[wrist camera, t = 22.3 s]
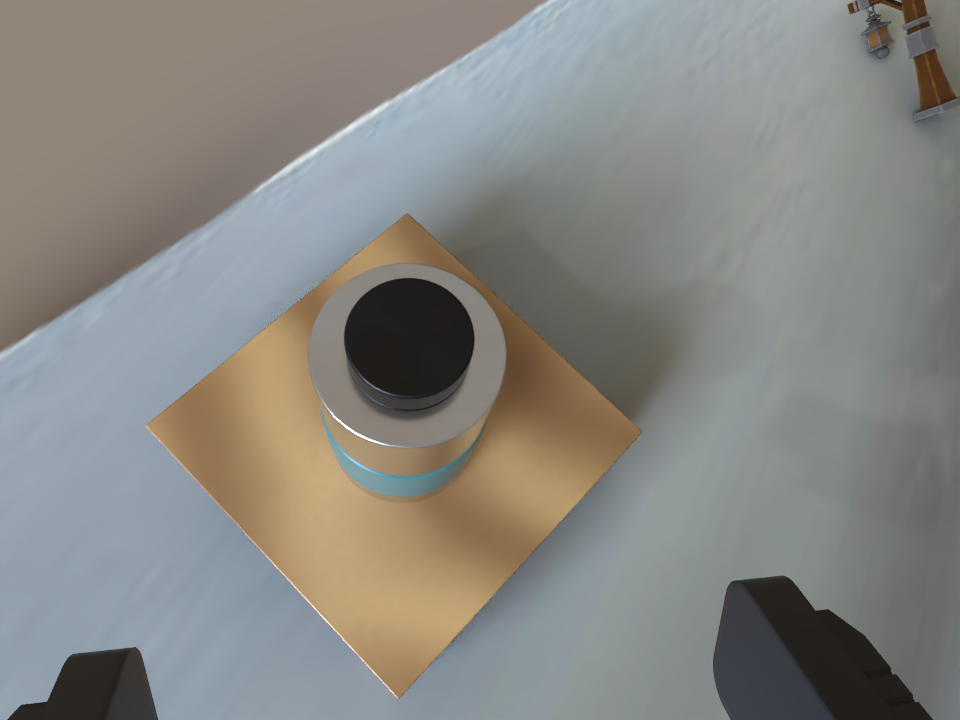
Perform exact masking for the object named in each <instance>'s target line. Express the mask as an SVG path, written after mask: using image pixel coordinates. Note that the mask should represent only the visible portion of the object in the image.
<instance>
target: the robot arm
mask: <svg viewBox="0 0 960 720" xmlns="http://www.w3.org/2000/svg"><path fill="white" fill-rule="evenodd" d="M713 671H714V678H715V683H716V687H717V691H718V694H719V697H720V699H721V702H722V704H723V706H724V708H725V710H726V712H727V714H728V716H729V717H730V719H731V720H933V719H932V718H931V717H930V715H929V714H928V713H927V712H926V711H925V709H924V708H923V707H922V706H921V704H920V703H919V702H915V701H914V700H913V695H912V693H911V692H910V691H909V690H908V688H907V687H906V686H905V685H904V684H903V682H902V681H901V680H900V679H899V677H898V676H897V675H896V674H895V675H893V674H892V673H891V668H890V666H889V665H888V664H887V663H886V661H885V660H884V659H883V658H882V656H881V655H880V654H879V653H878V652H877V650H876V649H875V648H874V647H873V645H872V644H871V643H870V642H869V640H868V639H867V638H866V637H865V636H864V635H863V634H862V633H860V632H859V631H858V630H856V629H855V628H853V627H852V626H851V625H849V624H848V623H847V622H845V621H844V620H842V619H841V618H840V617H838V616H837V615H836V614H834V613H833V612H831V611H830V610H829V609H827V610H818V611H815V609H814V608H813V607H812V605H811V604H810V603H809V602H808V600H807V599H806V598H805V596H804V595H803V594H802V592H801V591H800V590H799V588H798V587H797V586H796V585H795V584H794V582H793V581H792V580H790V579H789V578H788V577H786V576H774V577H765V578H756V579H746V580H737V581H732V582H731V583H730V584H729V586H728V588H727V591H726V595H725V601H724V606H723V611H722V616H721V621H720V626H719V631H718V636H717V642H716V647H715V652H714V658H713ZM8 720H158V717H157V713H156V709H155V705H154V701H153V698H152V694H151V690H150V686H149V682H148V678H147V674H146V670H145V666H144V662H143V659H142V656H141V653H140V651H139V650H138V649H137V648H136V647H133V648H124V649H115V650H106V651H96V652H87V653H78V654H73V655H71V656H70V657H69V658H68V659H67V660H66V662H65V663H64V665H63V667H62V669H61V672H60V674H59V676H58V678H57V681H56V683H55V685H54V688H53V690H52V692H51V694H50V697H49V699H48V701H47V702H42V703H33V704H25V705H21V706H20V707H19V708H18V709H17V710H16V711H15V712H14V713H13V714H12V715H11V716H10V717H9V719H8Z"/></svg>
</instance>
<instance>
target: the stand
mask: <svg viewBox="0 0 960 720" xmlns="http://www.w3.org/2000/svg"><path fill="white" fill-rule="evenodd" d="M396 263H417V264H425V265H429V266H434V267H437V268H440V269H443V270H446V271H448V272H450V273H452V274H454V275H457V276H458V277H460V278H462V279H463V280H465V281H466V282H468V283H469V284H470V285H471V286H473V287H474V288H475V289H476V290H477V291H478V292H479V293H480V294H481V295H482V296H483V297H484V298H485V299H486V300H487V302H488V303H489V304H490V306H491V307H492V309H493V310H494V312H495V314H496V316H497V317H498V319H499V322H500V324H501V327H502V329H503V333H504V337H505V341H506V350H507V366H506V372H505V377H504V381H503V384H502V387H501V390H500V392H499V394H498V396H497V398H496V401H495V403H494V405H493V407H492V409H491V411H490V414H489V417H488V420H487V423H486V426H485V429H484V431H483V433H482V435H481V437H480V439H479V441H478V443H477V446H476V448H475V450H474V452H473V454H472V456H471V458H470V460H469V461H468V463H467V464H466V466H465V467H464V469H463V470H462V472H461V473H460V475H459V476H458V477H457V478H456V479H455V481H454V482H453V483H452V484H450V485H449V486H448V487H447V488H446V489H444V490H443V491H441V492H440V493H438V494H436V495H434V496H432V497H430V498H427V499H424V500H421V501H416V502H409V503H395V502H388V501H383V500H380V499H378V498H375V497H373V496H370V495H368V494H366V493H365V492H363V491H362V490H360V489H359V488H358V487H356V486H355V485H354V484H353V483H352V482H351V481H350V480H349V479H348V477H347V476H346V475H345V474H344V472H343V471H342V469H341V467H340V466H339V463H338V461H337V459H336V457H335V455H334V453H333V451H332V449H331V446H330V443H329V440H328V436H327V433H326V430H325V427H324V424H323V421H322V417H321V413H320V407H319V402H318V399H317V396H316V393H315V389H314V386H313V383H312V379H311V376H310V371H309V365H308V346H309V338H310V334H311V331H312V327H313V324H314V322H315V320H316V318H317V315H318V313H319V312H320V310H321V309H322V307H323V305H324V304H325V303H326V301H327V300H328V299H329V298H330V296H331V295H332V294H333V293H334V292H335V291H336V290H337V289H338V288H340V287H341V286H342V285H343V284H345V283H346V282H347V281H349V280H350V279H352V278H353V277H355V276H357V275H359V274H361V273H363V272H365V271H368V270H370V269H373V268H376V267H380V266H383V265H388V264H396ZM146 427H147V428H148V429H149V430H150V431H151V432H152V434H153V435H154V436H155V437H156V438H157V439H158V440H159V441H160V442H161V443H162V444H163V445H164V447H165V448H166V449H167V450H168V451H169V452H170V453H171V454H172V455H173V456H174V457H175V458H176V460H177V461H178V462H179V463H180V464H181V465H182V466H183V467H184V468H185V469H186V470H187V471H188V472H189V474H190V475H191V476H192V477H193V478H194V479H195V480H196V481H197V482H198V483H199V484H200V485H201V487H202V488H203V489H204V490H205V491H206V492H207V493H208V494H209V495H210V496H211V497H212V498H213V500H214V501H215V502H216V503H217V504H218V505H219V506H220V507H221V508H222V509H223V510H224V511H225V513H226V514H227V515H228V516H229V517H230V518H231V519H232V520H233V521H234V522H235V523H236V524H237V526H238V527H239V528H240V529H241V530H242V531H243V532H244V533H245V534H246V535H247V536H248V537H249V539H250V540H251V541H252V542H253V543H254V544H255V545H256V546H257V547H258V548H259V549H260V550H261V552H262V553H263V554H264V555H265V556H266V557H267V558H268V559H269V560H270V561H271V562H272V563H273V565H274V566H275V567H276V568H277V569H278V570H279V571H280V572H281V573H282V574H283V575H284V576H285V578H286V579H287V580H288V581H289V582H290V583H291V584H292V585H293V586H294V587H295V588H296V589H297V591H298V592H299V593H300V594H301V595H302V596H303V597H304V598H305V599H306V600H307V601H308V602H309V603H310V605H311V606H312V607H313V608H314V609H315V610H316V611H317V612H318V613H319V614H320V615H321V616H322V618H323V619H324V620H325V621H326V622H327V623H328V624H329V625H330V626H331V627H332V628H333V629H334V631H335V632H336V633H337V634H338V635H339V636H340V637H341V638H342V639H343V640H344V641H345V642H346V644H347V645H348V646H349V647H350V648H351V649H352V650H353V651H354V652H355V653H356V654H357V655H358V657H359V658H360V659H361V660H362V661H363V662H364V663H365V664H366V665H367V666H368V667H369V668H370V670H371V671H372V672H373V673H374V674H375V675H376V676H377V677H378V678H379V679H380V680H381V681H382V683H383V684H384V685H385V686H386V687H387V688H388V689H389V690H390V691H391V692H392V693H393V694H394V696H395V697H396V698H397V699H399V698H400V697H401V696H402V695H403V694H404V693H405V692H406V691H407V690H408V689H409V687H410V686H411V685H412V684H413V683H414V682H415V681H416V680H417V679H418V678H419V677H420V675H421V674H422V673H423V672H424V671H425V670H426V669H427V668H428V667H429V666H430V664H431V663H432V662H433V661H434V660H435V659H436V658H437V657H438V656H439V655H440V654H441V652H442V651H443V650H444V649H445V648H446V647H447V646H448V645H449V644H450V643H451V641H452V640H453V639H454V638H455V637H456V636H457V635H458V634H459V633H460V632H461V630H462V629H463V628H464V627H465V626H466V625H467V624H468V623H469V622H470V621H471V620H472V618H473V617H474V616H475V615H476V614H477V613H478V612H479V611H480V610H481V609H482V607H483V606H484V605H485V604H486V603H487V602H488V601H489V600H490V599H491V598H492V597H493V595H494V594H495V593H496V592H497V591H498V590H499V589H500V588H501V587H502V586H503V584H504V583H505V582H506V581H507V580H508V579H509V578H510V577H511V576H512V575H513V573H514V572H515V571H516V570H517V569H518V568H519V567H520V566H521V565H522V564H523V563H524V561H525V560H526V559H527V558H528V557H529V556H530V555H531V554H532V553H533V552H534V550H535V549H536V548H537V547H538V546H539V545H540V544H541V543H542V542H543V541H544V540H545V538H546V537H547V536H548V535H549V534H550V533H551V532H552V531H553V530H554V529H555V527H556V526H557V525H558V524H559V523H560V522H561V521H562V520H563V519H564V518H565V516H566V515H567V514H568V513H569V512H570V511H571V510H572V509H573V508H574V507H575V506H576V504H577V503H578V502H579V501H580V500H581V499H582V498H583V497H584V496H585V495H586V493H587V492H588V491H589V490H590V489H591V488H592V487H593V486H594V485H595V484H596V483H597V481H598V480H599V479H600V478H601V477H602V476H603V475H604V474H605V473H606V472H607V470H608V469H609V468H610V467H611V466H612V465H613V464H614V463H615V462H616V461H617V459H618V458H619V457H620V456H621V455H622V454H623V453H624V452H625V451H626V450H627V449H628V447H629V446H630V445H631V444H632V443H633V442H634V441H635V440H636V439H637V438H638V436H639V435H640V434H641V433H642V431H641V430H640V429H639V428H638V427H637V426H636V425H635V424H634V423H633V422H632V421H631V420H630V419H628V418H627V417H626V416H625V415H624V414H623V413H622V412H621V411H620V410H619V409H618V408H617V407H616V406H614V405H613V404H612V403H611V402H610V401H609V400H608V399H607V398H606V397H605V396H604V395H603V394H602V393H600V392H599V391H598V390H597V389H596V388H595V387H594V386H593V385H592V384H591V383H590V382H589V381H588V380H586V379H585V378H584V377H583V376H582V375H581V374H580V373H579V372H578V371H577V370H576V369H575V368H574V367H572V366H571V365H570V364H569V363H568V362H567V361H566V360H565V359H564V358H563V357H562V356H561V355H560V354H558V353H557V352H556V351H555V350H554V349H553V348H552V347H551V346H550V345H549V344H548V343H547V342H546V341H544V340H543V339H542V338H541V337H540V336H539V335H538V334H537V333H536V332H535V331H534V330H533V329H532V328H530V327H529V326H528V325H527V324H526V323H525V322H524V321H523V320H522V319H521V318H520V317H519V316H518V315H516V314H515V313H514V312H513V311H512V310H511V309H510V308H509V307H508V306H507V305H506V304H505V303H504V302H503V301H501V300H500V299H499V298H498V297H497V296H496V295H495V294H494V293H493V292H492V291H491V290H490V289H489V288H487V287H486V286H485V285H484V284H483V283H482V282H481V281H480V280H479V279H478V278H477V277H476V276H475V275H473V274H472V273H471V272H470V271H469V270H468V269H467V268H466V267H465V266H464V265H463V264H462V263H461V262H459V261H458V260H457V259H456V258H455V257H454V256H453V255H452V254H451V253H450V252H449V251H448V250H447V249H445V248H444V247H443V246H442V245H441V244H440V243H439V242H438V241H437V240H436V239H435V238H434V237H433V236H431V235H430V234H429V233H428V232H427V231H426V230H425V229H424V228H423V227H422V226H421V225H420V224H419V223H417V222H416V221H415V220H414V219H413V218H412V217H411V216H410V215H409V214H408V213H407V214H406V215H404V216H403V217H402V218H401V219H400V220H398V221H397V222H396V223H395V224H393V225H392V226H391V227H390V228H388V229H387V230H386V231H385V232H384V233H382V234H381V235H380V236H379V237H377V238H376V239H375V240H374V241H372V242H371V243H370V244H369V245H368V246H366V247H365V248H364V249H363V250H361V251H360V252H359V253H358V254H356V255H355V256H354V257H353V258H351V259H350V260H349V261H348V262H347V263H345V264H344V265H343V266H342V267H340V268H339V269H338V270H337V271H335V272H334V273H333V274H332V275H331V276H329V277H328V278H327V279H326V280H324V281H323V282H322V283H321V284H319V285H318V286H317V287H316V288H315V289H313V290H312V291H311V292H310V293H308V294H307V295H306V296H305V297H303V298H302V299H301V300H300V301H299V302H297V303H296V304H295V305H294V306H292V307H291V308H290V309H289V310H287V311H286V312H285V313H284V314H283V315H281V316H280V317H279V318H278V319H276V320H275V321H274V322H273V323H271V324H270V325H269V326H268V327H267V328H265V329H264V330H263V331H262V332H260V333H259V334H258V335H257V336H255V337H254V338H253V339H252V340H250V341H249V342H248V343H247V344H246V345H244V346H243V347H242V348H241V349H239V350H238V351H237V352H236V353H234V354H233V355H232V356H231V357H230V358H228V359H227V360H226V361H225V362H223V363H222V364H221V365H220V366H218V367H217V368H216V369H215V370H214V371H212V372H211V373H210V374H209V375H207V376H206V377H205V378H204V379H202V380H201V381H200V382H199V383H198V384H196V385H195V386H194V387H193V388H191V389H190V390H189V391H188V392H186V393H185V394H184V395H183V396H182V397H180V398H179V399H178V400H177V401H175V402H174V403H173V404H172V405H170V406H169V407H168V408H167V409H166V410H164V411H163V412H162V413H161V414H159V415H158V416H157V417H156V418H154V419H153V420H152V421H151V422H149V423H148V424H147V425H146Z"/></svg>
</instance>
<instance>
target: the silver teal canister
mask: <svg viewBox="0 0 960 720" xmlns="http://www.w3.org/2000/svg"><path fill="white" fill-rule="evenodd" d="M308 365H309V371H310V376H311V379H312V383H313V386H314V389H315V393H316V396H317V399H318V402H319V407H320V413H321V417H322V421H323V424H324V427H325V430H326V433H327V436H328V440H329V443H330V446H331V449H332V451H333V453H334V455H335V457H336V459H337V461H338V463H339V466H340V467H341V469H342V471H343V472H344V474H345V475H346V476H347V477H348V479H349V480H350V481H351V482H352V483H353V484H354V485H355V486H356V487H358V488H359V489H360V490H362V491H363V492H365V493H366V494H368V495H370V496H373V497H375V498H378V499H380V500H383V501H388V502H395V503H409V502H416V501H421V500H424V499H427V498H430V497H432V496H434V495H436V494H438V493H440V492H441V491H443V490H444V489H446V488H447V487H448V486H449V485H450V484H452V483H453V482H454V481H455V479H456V478H457V477H458V476H459V475H460V473H461V472H462V470H463V469H464V467H465V466H466V464H467V463H468V461H469V460H470V458H471V456H472V454H473V452H474V450H475V448H476V446H477V443H478V441H479V439H480V437H481V435H482V433H483V431H484V429H485V426H486V423H487V420H488V417H489V414H490V411H491V409H492V407H493V405H494V403H495V401H496V398H497V396H498V394H499V392H500V390H501V387H502V384H503V381H504V377H505V372H506V366H507V350H506V341H505V337H504V333H503V329H502V327H501V324H500V322H499V319H498V317H497V316H496V314H495V312H494V310H493V309H492V307H491V306H490V304H489V303H488V302H487V300H486V299H485V298H484V297H483V296H482V295H481V294H480V293H479V292H478V291H477V290H476V289H475V288H474V287H473V286H471V285H470V284H469V283H468V282H466V281H465V280H463V279H462V278H460V277H458V276H457V275H454V274H452V273H450V272H448V271H446V270H443V269H440V268H437V267H434V266H429V265H425V264H417V263H396V264H388V265H383V266H380V267H376V268H373V269H370V270H368V271H365V272H363V273H361V274H359V275H357V276H355V277H353V278H352V279H350V280H349V281H347V282H346V283H345V284H343V285H342V286H341V287H340V288H338V289H337V290H336V291H335V292H334V293H333V294H332V295H331V296H330V298H329V299H328V300H327V301H326V303H325V304H324V305H323V307H322V309H321V310H320V312H319V313H318V315H317V318H316V320H315V322H314V324H313V327H312V331H311V334H310V338H309V346H308Z"/></svg>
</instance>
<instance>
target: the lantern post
mask: <svg viewBox="0 0 960 720" xmlns="http://www.w3.org/2000/svg"><path fill="white" fill-rule="evenodd" d="M879 3H882V4H885V5H888V6H890V7H893V8H896V9H898V10H901V11H903V14H904V20H905V25H903V26H902V28H903V31H905V30H907V36H905V37H904V38H905V40H906V42H907V46H908V50H909V59H910V58H913V59H914V63H915V67H916V71H917V78H918V85H919V92H920V107H921V111H920V112H917V113H915V114H913V115H914V121H917V120H920V119H923V118H926V117H929V116H933V115H936V114H939V113H942V112H945V111H947V110H950V109H952V108H954V107H957V106H959V105H960V97H958V98H957V97H956V96H955V94H954V92H953V91H952V89H951V87H950V85H949V83H948V81H947V79H946V76H945V74H944V72H943V70H942V68H941V65H940V63H939V60H938V57H937V54H936V50H935V48H938V47H939V46H938V44H937V42H936V38H935V34H934V25H931V26H930V24H929V21H930V20H932V17H931V14H929V15H927V11H926V7H925V2H924V0H901V3H900V2H897V1H895V0H856V1H853V3H850V4H848V9H849V12H850V14H852V13H855V12H858V11H860V10H863V9H866V10H867V12H868V13H869V14H868V19H867V20H866V21H865V22H870V21H871V22H870V23H869V24H868V25H870V26H869V27H868V28H867V29H866V30H865V31H864V32H863V33H862V34H861V36H862V35H865V34H866V36H867V40H868V45H869V51H868V53H870V52H872V51H875V50H877V52H876V55H877V57H878V58H885V57H887V56H888V54H889V48H888V47H887V45H889V44H891V43H894V42H895V41H893V40H892V39H891V36H890V34H889V31H888V28H887V25H888V24H890V23H891V21H889V22H880V20H881V19H877V18H879V17H880V16H881V15H877V14H876V13H875V12H874V6H873V5H875V4H879ZM871 6H872V10H873V11H870V12H869V10H868V8H869V7H871ZM873 13H874V15H872V16H870V14H873ZM914 121H913V122H914Z"/></svg>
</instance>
